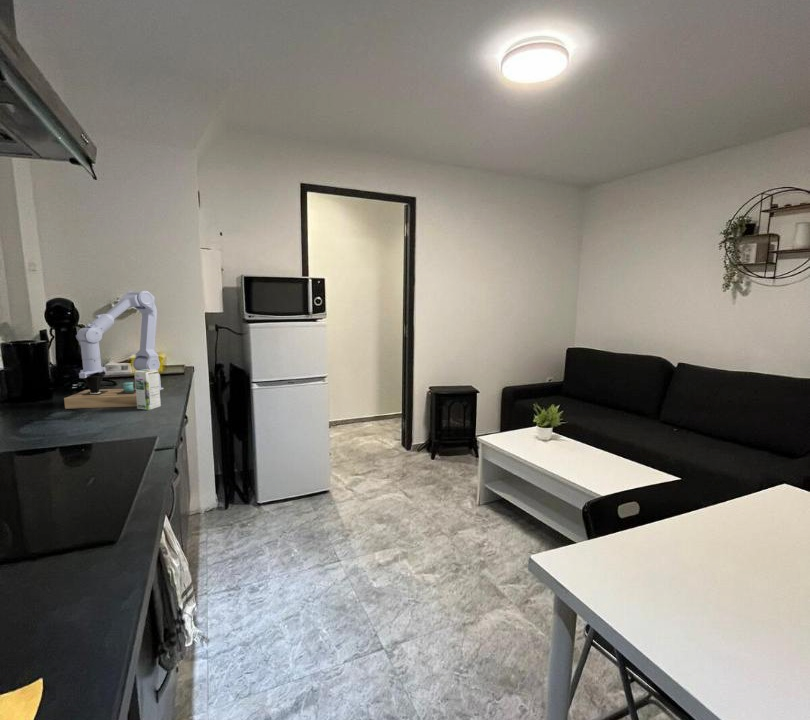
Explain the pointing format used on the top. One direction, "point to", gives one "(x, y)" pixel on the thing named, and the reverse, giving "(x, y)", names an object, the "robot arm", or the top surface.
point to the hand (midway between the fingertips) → (95, 392)
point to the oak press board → (101, 399)
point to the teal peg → (128, 387)
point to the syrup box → (147, 389)
